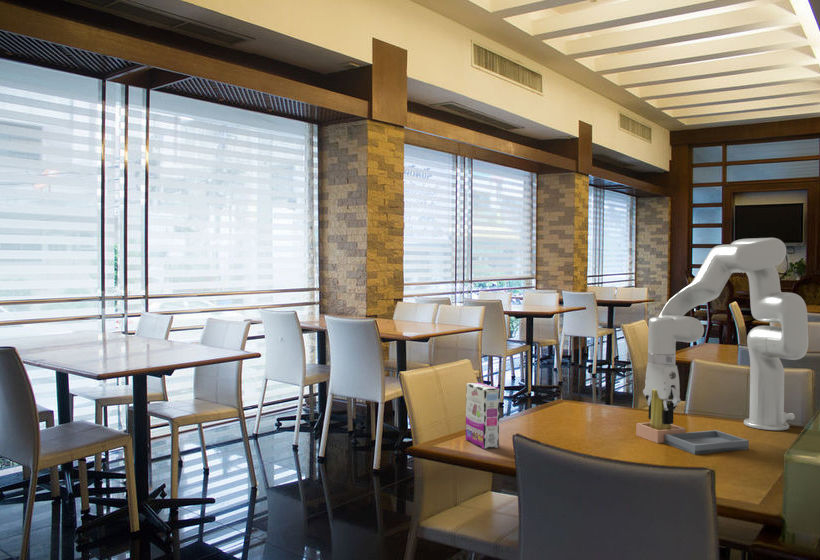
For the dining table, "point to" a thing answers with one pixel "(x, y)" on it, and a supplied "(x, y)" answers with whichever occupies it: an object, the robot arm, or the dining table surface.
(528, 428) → the dining table surface
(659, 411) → the vase
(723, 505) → the dining table surface
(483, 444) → the candy bar box
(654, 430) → the holder
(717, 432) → the tray
